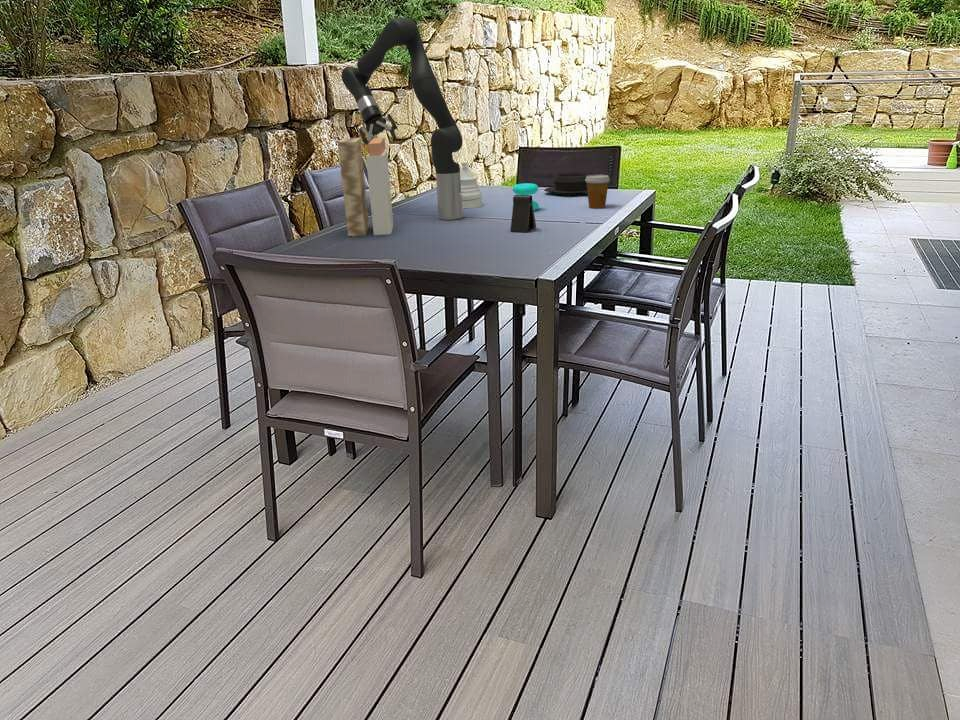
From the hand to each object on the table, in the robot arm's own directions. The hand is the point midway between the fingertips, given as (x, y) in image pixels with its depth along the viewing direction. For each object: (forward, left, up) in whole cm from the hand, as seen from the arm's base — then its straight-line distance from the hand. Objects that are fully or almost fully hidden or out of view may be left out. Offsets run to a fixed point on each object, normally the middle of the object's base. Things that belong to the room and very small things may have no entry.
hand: (384, 145), depth 287 cm
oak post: (+10, +29, -27) cm, 41 cm away
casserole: (-78, -30, -28) cm, 88 cm away
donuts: (-54, +4, -28) cm, 60 cm away
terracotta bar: (+1, +24, 0) cm, 24 cm away
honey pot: (-31, -13, -28) cm, 43 cm away
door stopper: (-49, +42, -28) cm, 70 cm away
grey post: (+1, +29, -27) cm, 40 cm away
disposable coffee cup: (-82, +6, -28) cm, 86 cm away
